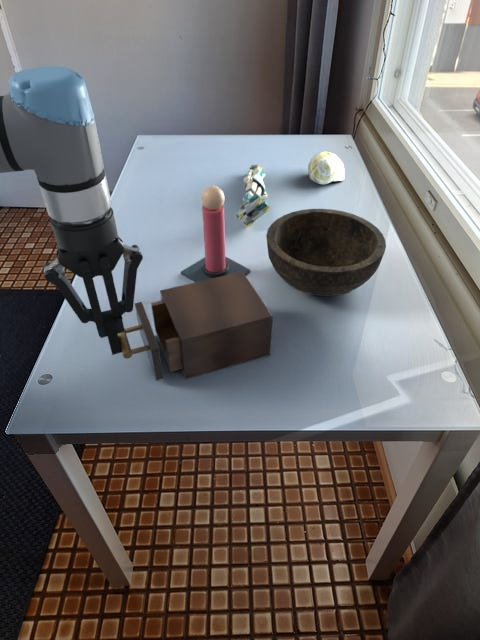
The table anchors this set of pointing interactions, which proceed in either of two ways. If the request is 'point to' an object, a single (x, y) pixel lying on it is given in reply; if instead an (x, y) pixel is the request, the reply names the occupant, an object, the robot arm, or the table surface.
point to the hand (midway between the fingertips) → (115, 347)
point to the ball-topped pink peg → (214, 232)
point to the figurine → (253, 196)
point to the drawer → (165, 336)
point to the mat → (197, 275)
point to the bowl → (324, 250)
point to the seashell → (325, 168)
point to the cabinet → (219, 323)
